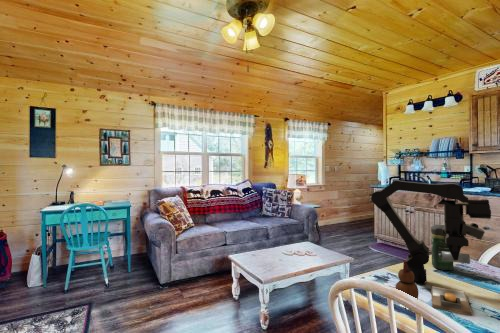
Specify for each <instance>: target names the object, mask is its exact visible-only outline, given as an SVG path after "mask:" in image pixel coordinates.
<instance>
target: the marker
mask: <svg viewBox="0 0 500 333" xmlns="http://www.w3.org/2000/svg"><path fill="white" fill-rule="evenodd" d="M439 257H441V258H442V260H443V261H451V262H453V263H461V264H469V265H470V264H471V256H470V254H469V253H462V252H460V253H459V257H458V260H454V259H453V257H452V255H451V253H450V252H446V251H442V254H439Z"/></svg>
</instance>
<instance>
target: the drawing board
mask: <svg viewBox="0 0 500 333" xmlns="http://www.w3.org/2000/svg"><path fill="white" fill-rule="evenodd" d="M445 293H452V294H454V295H456V302H451V301H447V300H446V299H445ZM430 294H431V307H432V308H434V309H435V308H436V309H439V310H445V311H449V312H454V313H458V314H464V315H467V316H472V315H473V314H472V309H471V307H470V303H469V300H468V298H467V294H466V292H465V291H461V290H456V289H455V290H454V289H451V288H444V287H439V286H433V285H431V286H430Z"/></svg>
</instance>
